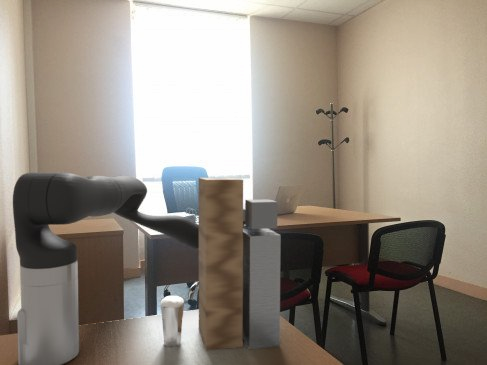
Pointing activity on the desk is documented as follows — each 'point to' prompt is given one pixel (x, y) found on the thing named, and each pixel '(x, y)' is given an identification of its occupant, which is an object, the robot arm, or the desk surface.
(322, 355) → the desk surface
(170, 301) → the milkshake
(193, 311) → the desk surface
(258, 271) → the tall grey pillar
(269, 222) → the block
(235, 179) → the walnut stand
